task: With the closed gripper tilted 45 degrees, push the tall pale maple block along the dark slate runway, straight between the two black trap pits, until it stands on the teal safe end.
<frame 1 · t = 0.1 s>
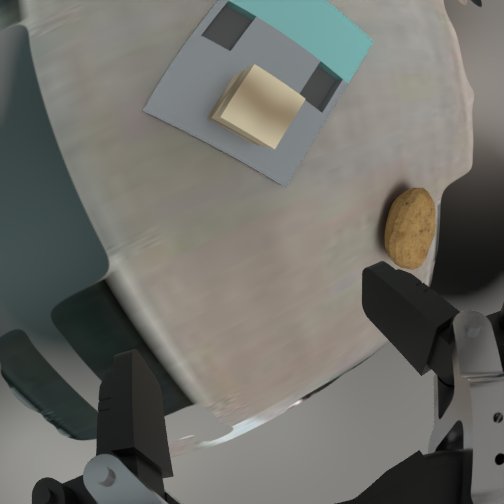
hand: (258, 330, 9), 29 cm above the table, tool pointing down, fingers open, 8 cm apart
maple block: (242, 109, 32), point 2 cm above the table, touching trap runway
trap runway: (268, 63, 32), on the table
potato: (394, 218, 48), on the table
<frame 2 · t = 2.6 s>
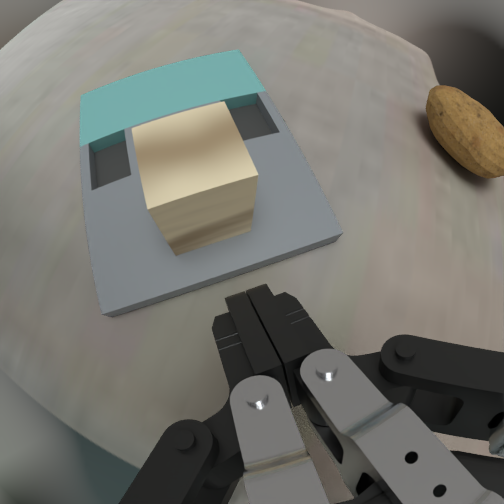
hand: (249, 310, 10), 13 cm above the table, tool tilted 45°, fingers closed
maple block: (202, 209, 23), point 2 cm above the table, touching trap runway
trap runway: (183, 153, 27), on the table
potato: (452, 150, 30), on the table
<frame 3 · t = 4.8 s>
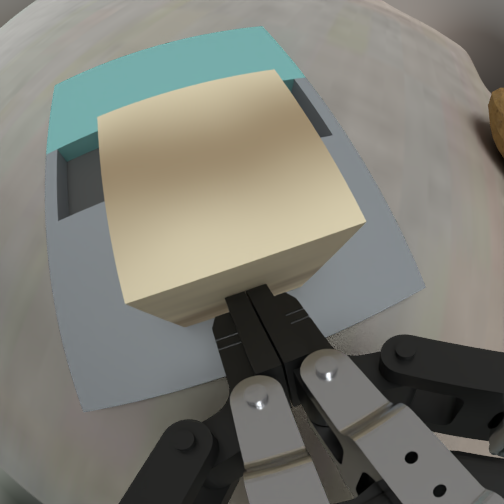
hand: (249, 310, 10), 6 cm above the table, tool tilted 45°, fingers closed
maple block: (223, 251, 15), point 2 cm above the table, touching gripper
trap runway: (191, 162, 19), on the table
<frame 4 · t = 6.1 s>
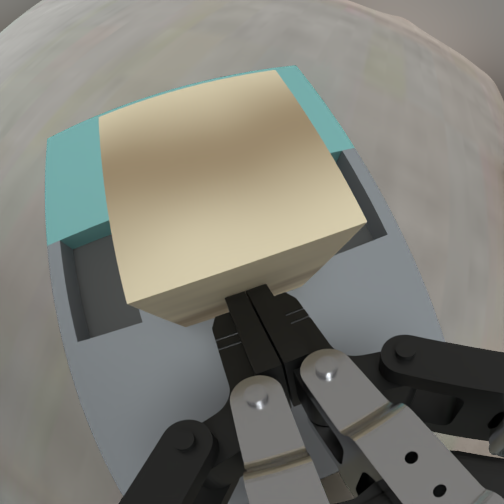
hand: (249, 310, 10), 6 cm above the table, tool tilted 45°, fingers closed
maple block: (224, 251, 15), point 2 cm above the table, touching gripper, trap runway
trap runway: (225, 263, 17), on the table
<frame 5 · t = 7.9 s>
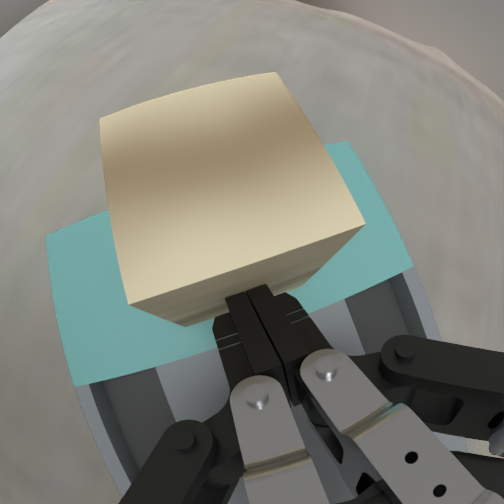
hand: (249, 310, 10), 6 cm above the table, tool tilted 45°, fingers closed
maple block: (224, 251, 15), point 2 cm above the table, touching gripper, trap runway
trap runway: (275, 402, 15), on the table
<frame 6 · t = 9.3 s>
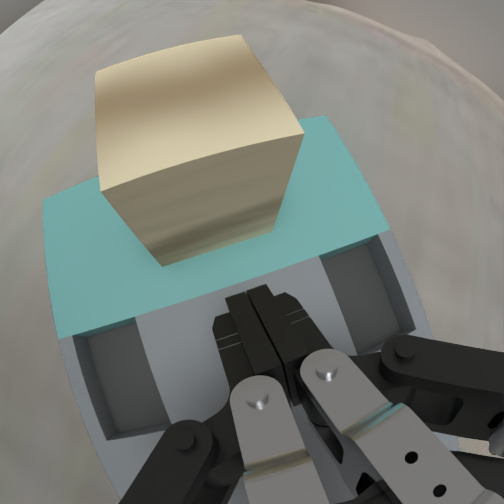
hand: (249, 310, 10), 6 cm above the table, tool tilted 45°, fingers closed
maple block: (201, 199, 16), point 2 cm above the table, touching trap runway
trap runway: (252, 360, 16), on the table
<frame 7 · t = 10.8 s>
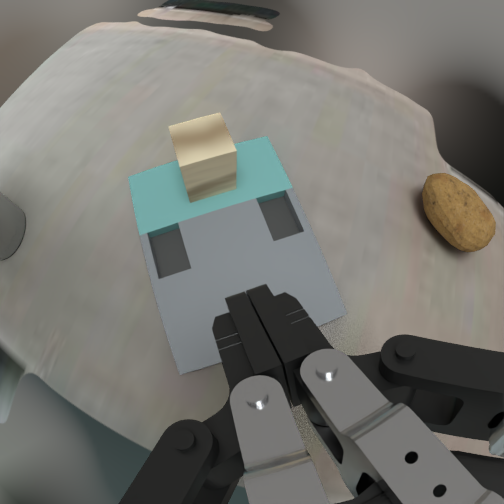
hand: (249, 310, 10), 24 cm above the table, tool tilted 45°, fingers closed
maple block: (206, 176, 37), point 2 cm above the table, touching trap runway
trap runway: (227, 244, 37), on the table
potato: (441, 223, 40), on the table
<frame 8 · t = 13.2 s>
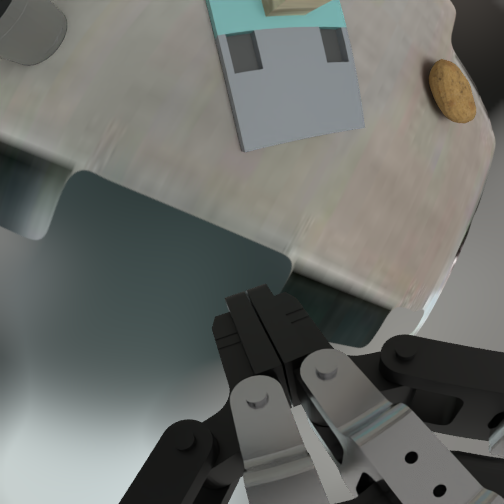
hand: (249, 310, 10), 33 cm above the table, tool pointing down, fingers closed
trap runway: (288, 54, 36), on the table
potato: (436, 89, 44), on the table
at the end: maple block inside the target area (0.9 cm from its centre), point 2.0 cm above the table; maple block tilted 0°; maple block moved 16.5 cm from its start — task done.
